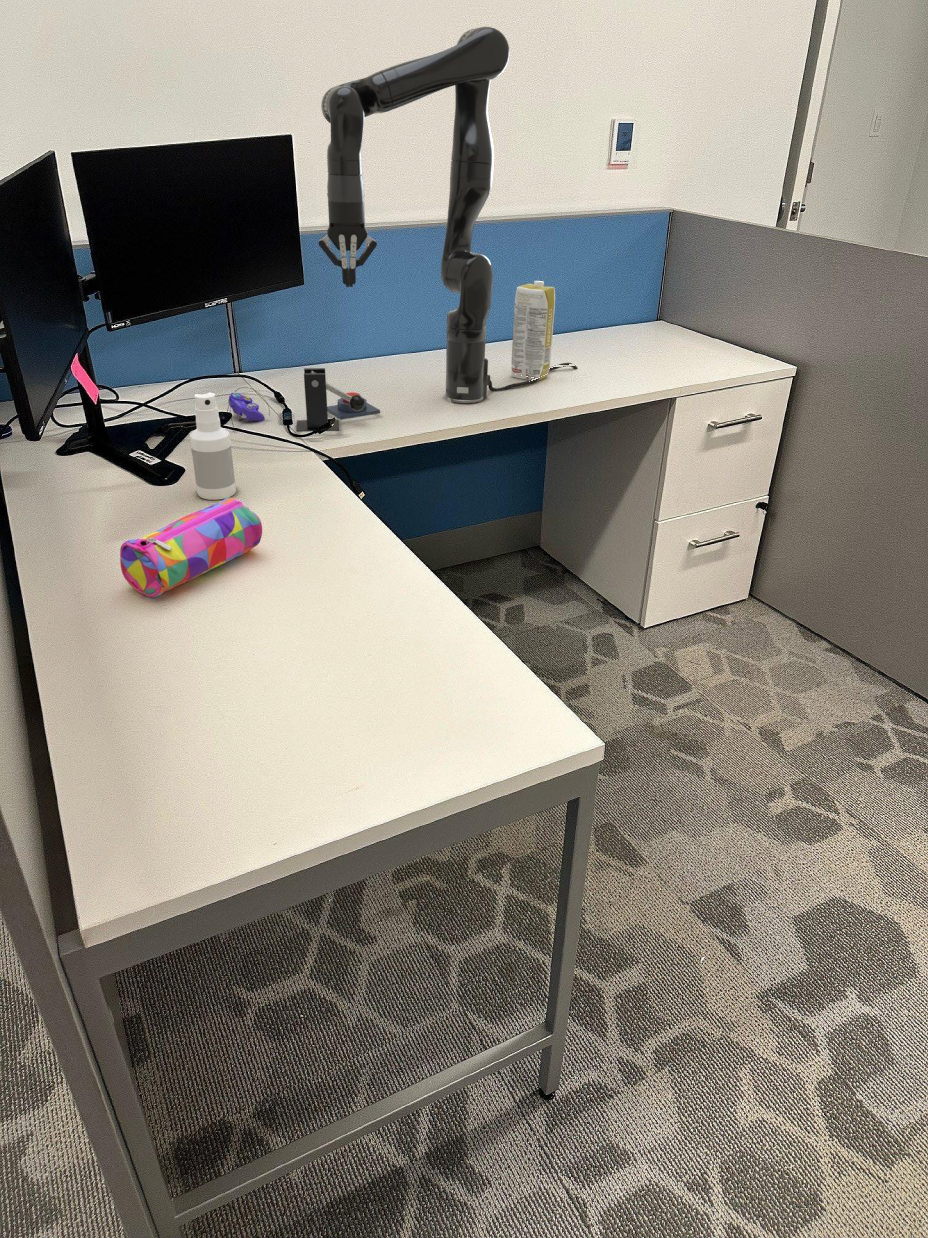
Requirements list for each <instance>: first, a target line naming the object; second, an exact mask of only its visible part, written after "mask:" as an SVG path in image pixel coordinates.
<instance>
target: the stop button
mask: <svg viewBox="0 0 928 1238" xmlns="http://www.w3.org/2000/svg"><path fill="white" fill-rule="evenodd" d="M345 393H346V394H348V395H350V396H351V397H352V396H353V395H360V396H361V394H360V393H358V392H353V391H351V392H345ZM344 402H345V403H349V401H347V400H345V399H344Z"/></svg>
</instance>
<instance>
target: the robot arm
mask: <svg viewBox="0 0 928 1238" xmlns="http://www.w3.org/2000/svg"><path fill="white" fill-rule="evenodd" d="M509 60H510V44H509V42H508V40H507V38H506V36H505V34H503V33H502V32H501V31H500V30H499V29H498V28H495V27H491V26H480V27H476V28H472V29H468V30H466V31H464V33H462V34H461V36H460V37H459V39H458V41H457V43H456V45H454V46H451V47H449V48H446V49H444V50H442V51H439V52H437V53H433V54H431V55H427V56H423V57H419V58H416V59H415V58H414V59H412V60H408V61H404V62H401V63H398V64H395V65H392V66H389V67H386V68H384V69H381V70H379V71H377V72H373V73H372V74H370V75H368V76H366V77H363V78H358V79H356V80H352V81H348V82H344V83H342V84H338V85H336V86H333V87H330V88H329V89H328V90H327V91H326V92H325V93H324V95H323V96H322V99H321V105H320V109H321V113H322V116H323V117H324V119H325V120H326V121H327V122H328V123H329V124H330V142H329V143H328V145H327V148H326V161H327V163H326V165H327V185H326V187H327V189H326V190H327V192H326V197H327V207H328V208H327V209H328V211H327V212H328V227H327V230H326V235H325V236H323V237H322V238H320V239H318V246H319V247H320V248H321V250H322V251H323V252H324V254H325V255H326V256H327V257H328V259H329V260H330V262H332V264H333V265H334V266H337V267H339V268H341V276H342V277H341V278H342V284H343V285H345V288H353V287H354V285H356V282H357V278H356V277H357V275H356V269H357V268H358V267H362V266H364V264H365V263H366V261H368V259H369V258H370V256H371V255H372V253H373V252H374V250H375V249H376V248H377V246H378V242H377V240H376V239H373V238H372V237H371V236H370V235H368V233H369V232H368V230H367V229H366V215H365V186H364V179H363V158H362V157H363V156H362V146H363V137H364V129H365V118H367V117H369V116H372V115H376V114H384V113H387V112H391V111H394V110H395V109H398V108H401V107H403V106H406V105H408V104H411V103H413V102H416V101H418V100H420V99H423V98H425V97H427V96H430V95H432V94H435V93H437V92H440V91H442V90H445V89H448V88H451V87H454V92H455V93H454V94H455V95H454V96H455V97H454V99H455V104H454V105H455V106H454V120H453V129H452V130H453V131H452V146H451V158H450V172H449V173H450V174H449V195H448V197H449V198H448V206H447V207H448V209H447V221H446V228H445V234H444V235H445V236H444V243H443V244H444V245H443V248H442V255H441V262H440V263H441V264H440V276H441V282H442V286H443V287H444V288H445V289H446V290H447V291H449V292H451V293H454V294H458V295H459V305H458V307H457V308H456V309H452V310H450V311H449V312H448V313H447V315H446V350H445V351H446V352H445V393H444V397H445V398H449V400H450V402H451V403H456V404H474V403H475V404H476V403H480V402H482V401H484V400H486V399H488V398H487V397H488V390H490V391H491V392H502V391H507V390H510V389H513V388H514V389H515V388H520V387H524V386H529V385H532V384H535V383H536V382H539V381H540V380H539V379H536V380H533V381H531V380H525V381H521V382H515V383H510V384H508V385H505V386H502V387H497V388H496V387H493V382H492V380H491V375H490V374H489V372H488V371H489V360H488V358H487V357H486V339H487V338H486V337H487V336H486V335H487V334H486V333H487V320H488V318H489V315H490V311H491V303H492V293H493V280H494V279H493V278H494V276H493V275H494V273H493V266H492V263H491V261H490V259H489V258H488V257H487V256H486V255H483V254H481V253H477V252H472V240H473V232H474V227H475V224H476V221H477V219H478V217H479V215H480V213H481V211H482V210H483V208H484V206H485V204H486V202H487V200H488V198H489V195H490V194H491V190H492V184H493V177H494V176H493V174H494V162H495V150H494V142H493V137H492V132H491V126H490V120H489V112H488V111H489V108H488V107H489V94H490V86H491V80H494V79H495V78H498V77H499V76H500V75H501V74H502V73H503V72H504V71H505V70H506V67H507V66H508V63H509ZM330 241H331V242H332V244H333V245H334V247H335V248H336V250H338V251H339V252H340V259H339V258H338V257H337V256H336V254H335V252H334V251H333V250H332V249H331V248H330V247H331V242H330ZM364 242H365V244H364ZM363 244H364V246H365V249H364V250H363V251H362V253H361V254H360V256H359V257H358V258H357V251H359V250H360V249H361V247H362V245H363ZM348 251H349V265H348V256H347V252H348ZM569 364H573V363H572V362H563V363H559V364H558V365H569ZM574 365H575V364H574ZM552 367H553V366H552ZM564 367H566V366H563V367H553V368H550V369H549V372H550V371H555V370H558V369H560V368H564ZM569 367H571V368H573V370H578V369H579V368H578V366H576V365H575V366H569ZM538 380H539V381H538ZM529 381H530V382H529Z"/></svg>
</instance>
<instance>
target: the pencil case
mask: <svg viewBox="0 0 928 1238" xmlns="http://www.w3.org/2000/svg"><path fill="white" fill-rule="evenodd" d="M262 537H263V524H262V521H261V519H260V517H259V516H258V515H257V514H256V513H255V512H254V511H252V510H250V508H249V507H247V506H246V505H244V504H243V502H242V501H240V500H237V499H236V498H234V497H228V498H224V499H222V500H220V501H218V502H217V503H214V504H212V505H209V506H207V507H205V508H204V509H200V510H197V511H195V512H191V513H190V514H187V515H185V516H183V517H181V518H179V519H177V520H175V521H173V522H171V523H169V524H167V525H166V526H163V527H162V528H160V529H158V530H156V531H153V532H152V533H149V534H147V535H145V536H143V537H141V538H132V539H129V540H126V541H124V542H123V543H122V544H121V546H120V549H119V561H120V562H119V565H120V570H121V573H122V576H123V578H124V579H125V581H126V582H127V583H128V584H129V586H130V587H131V588H132V589H134V590H135V591H137V592H139V593H140V594H141V595H144V596H146V597H149V598H157V597H159V596H160V595H162V594H163V593H165V592H167V591H170V590H173V588H176V587H178V586H180V585H182V584H185V583H187V582H190V581H192V580H194V579H196V578H198V577H199V576H201V575H203V574H205V573H207V572H209V571H211V570H214V569H216V568H217V567H219V566H221V565H225V564H226V563H228V562H230V561H232V560H233V559H235V558H238V557H241V556H242V555H244V554H246V553H248V552H249V551H251V550H253V549H254V548H255V547H257V546H258V545H259V544H260V543H261V540H262Z"/></svg>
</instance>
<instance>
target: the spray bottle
mask: <svg viewBox="0 0 928 1238" xmlns="http://www.w3.org/2000/svg"><path fill="white" fill-rule="evenodd" d="M194 403H195V404H194V405H195V406H194V412H195V413H194V414H195V425H196V429H194V430H192V431H191V433H189V442H190V447H191V448H190V449H191V456H192V457H191V458H192V464H193V472H194V478H195V479H194V480H195V486H196V492H197V495H198V497H200V498H202V499H204V500H210V501H211V500H212V501H213V500H215V501H216V500H224V499H226V498H231V497H232V496H234V495H235V494H236V492H237V487H236V479H235V468H234V459H233V450H232V443H231V435H230V432H229V431H228V430H227V429H226V428H223V427H222V426H221V418H220V415H219V413H220V412H219V407H218V405H217V401H216V394H215V393H214V392H207V393H203V394H200V393H199V394H198V393H195V394H194Z"/></svg>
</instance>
